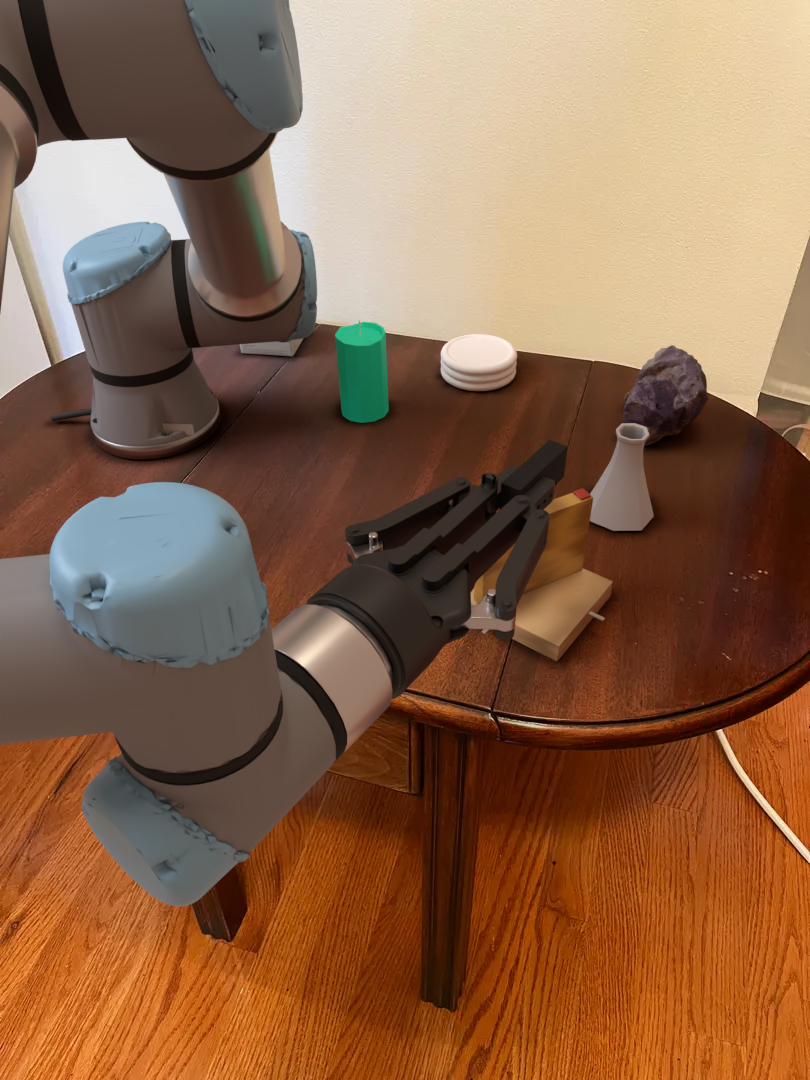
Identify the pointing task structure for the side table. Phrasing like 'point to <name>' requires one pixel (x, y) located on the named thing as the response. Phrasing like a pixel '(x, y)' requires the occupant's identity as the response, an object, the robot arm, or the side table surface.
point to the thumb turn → (552, 544)
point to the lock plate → (558, 612)
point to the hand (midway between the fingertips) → (556, 458)
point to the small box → (272, 348)
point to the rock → (666, 393)
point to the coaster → (478, 362)
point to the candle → (362, 371)
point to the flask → (624, 484)
